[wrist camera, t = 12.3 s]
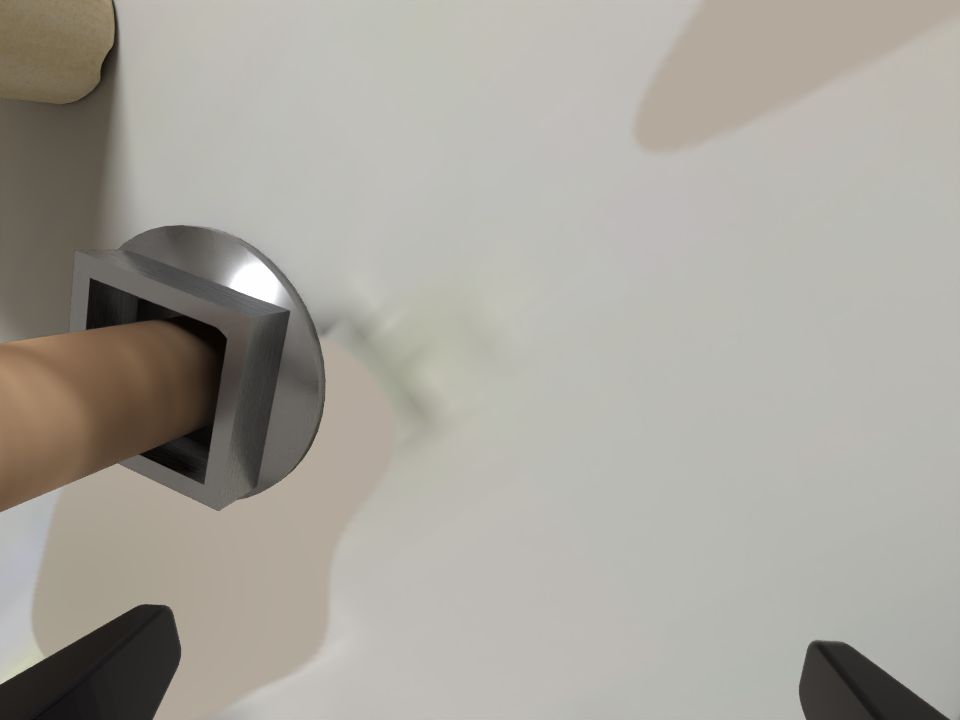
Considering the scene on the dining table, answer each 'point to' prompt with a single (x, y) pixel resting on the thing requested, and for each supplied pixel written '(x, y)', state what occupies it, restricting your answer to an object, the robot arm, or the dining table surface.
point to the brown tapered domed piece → (101, 399)
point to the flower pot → (53, 48)
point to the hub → (247, 363)
